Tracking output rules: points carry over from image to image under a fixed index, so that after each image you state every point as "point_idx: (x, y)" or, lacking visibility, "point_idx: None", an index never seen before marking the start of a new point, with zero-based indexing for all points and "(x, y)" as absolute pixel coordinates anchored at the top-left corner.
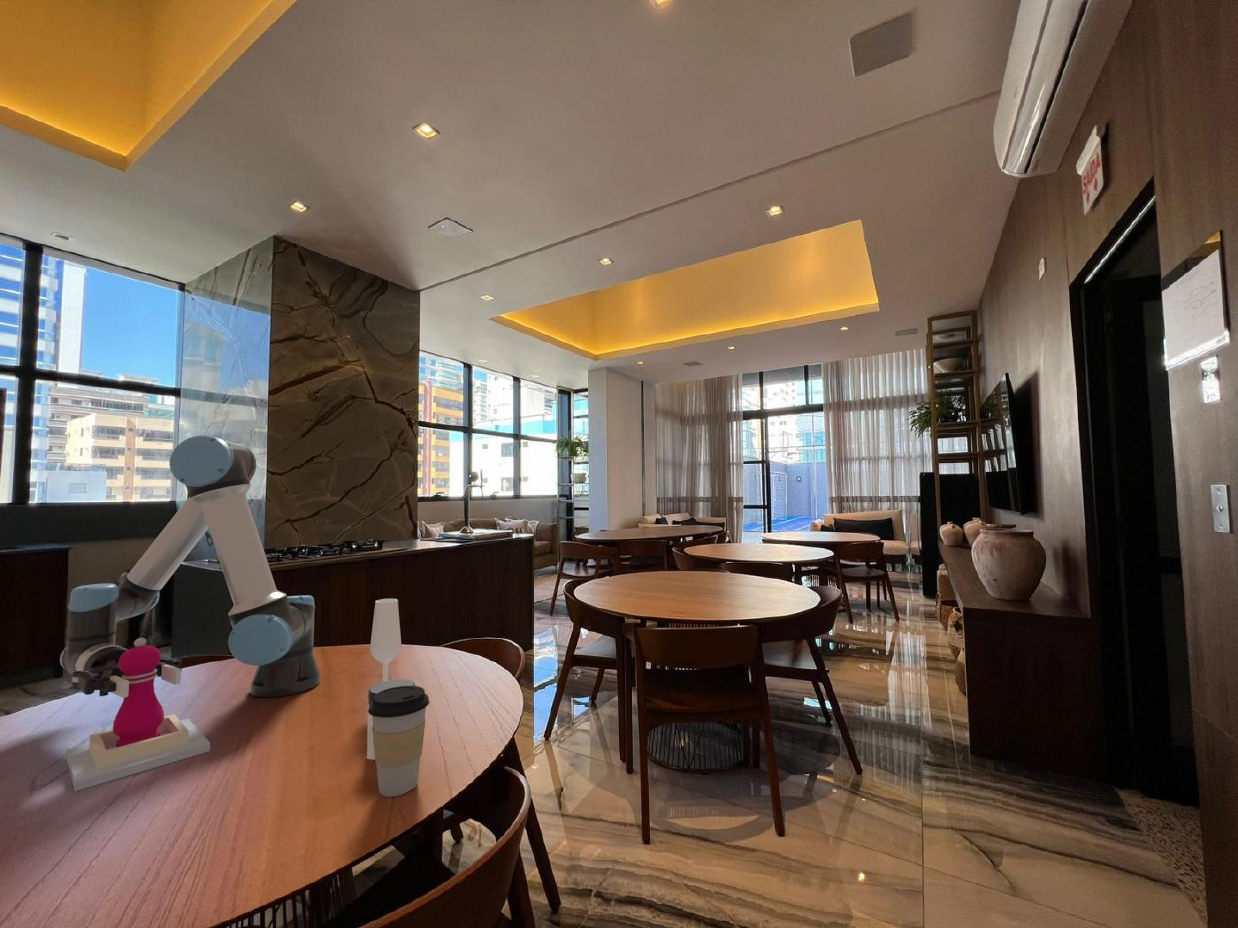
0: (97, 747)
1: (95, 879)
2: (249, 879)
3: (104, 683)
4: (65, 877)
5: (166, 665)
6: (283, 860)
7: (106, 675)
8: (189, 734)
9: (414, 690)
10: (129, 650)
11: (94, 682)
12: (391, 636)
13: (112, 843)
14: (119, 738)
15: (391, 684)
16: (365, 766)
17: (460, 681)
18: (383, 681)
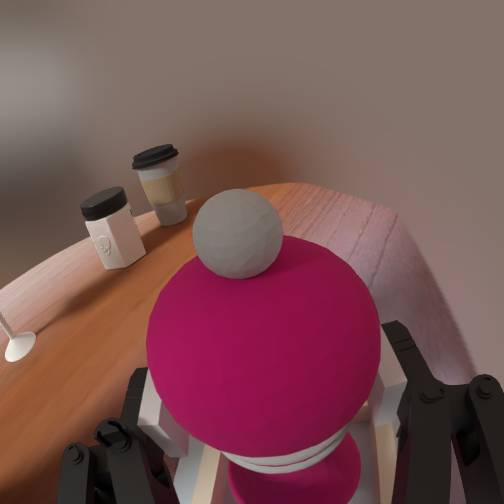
0: (389, 437)
1: (357, 217)
2: (284, 192)
3: (417, 348)
4: (376, 225)
5: (152, 398)
6: (265, 195)
7: (427, 442)
8: (198, 468)
9: (141, 154)
10: (319, 258)
11: (462, 392)
12: None
13: (350, 244)
14: None
15: (96, 199)
16: (156, 247)
17: None
18: (2, 317)
